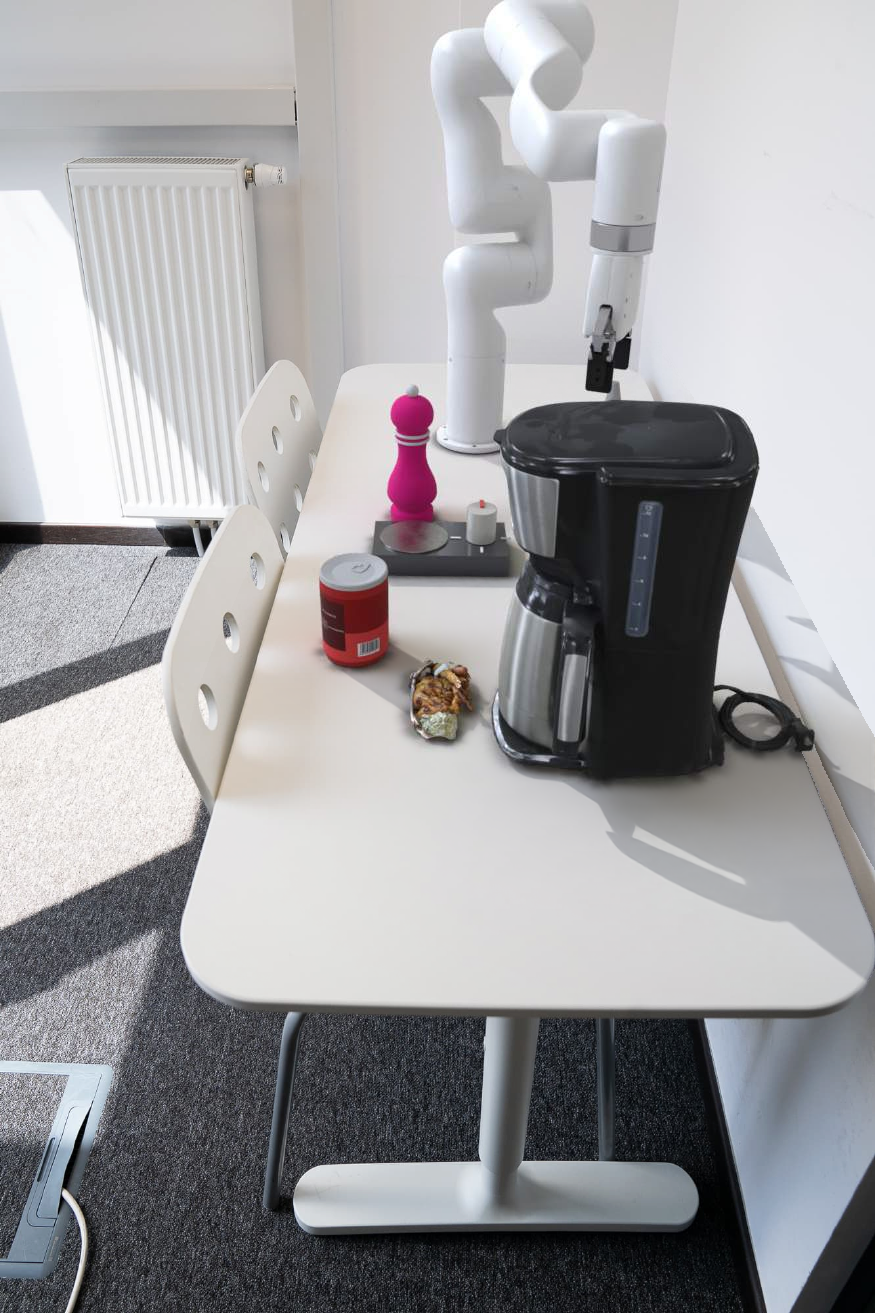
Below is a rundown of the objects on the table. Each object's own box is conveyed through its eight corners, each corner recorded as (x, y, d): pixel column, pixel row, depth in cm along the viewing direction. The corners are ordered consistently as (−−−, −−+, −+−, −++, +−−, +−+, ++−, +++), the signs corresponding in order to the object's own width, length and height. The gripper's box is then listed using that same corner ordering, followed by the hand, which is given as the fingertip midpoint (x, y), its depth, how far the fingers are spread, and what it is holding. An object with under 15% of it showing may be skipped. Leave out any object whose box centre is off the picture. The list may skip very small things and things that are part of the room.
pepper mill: (386, 507, 153) (384, 376, 142) (434, 506, 154) (436, 375, 142) (388, 529, 147) (386, 394, 136) (438, 528, 148) (441, 393, 137)
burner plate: (381, 522, 143) (381, 520, 142) (447, 522, 143) (447, 520, 142) (378, 553, 135) (378, 551, 135) (448, 554, 135) (448, 552, 135)
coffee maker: (461, 681, 116) (471, 392, 97) (719, 643, 124) (775, 368, 105) (527, 815, 98) (555, 492, 79) (825, 762, 105) (915, 454, 87)
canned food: (398, 638, 123) (398, 558, 117) (373, 674, 117) (371, 591, 111) (340, 626, 125) (336, 547, 119) (312, 661, 119) (307, 579, 113)
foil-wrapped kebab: (409, 742, 107) (409, 714, 105) (408, 675, 117) (408, 649, 115) (476, 741, 107) (477, 713, 105) (469, 675, 117) (470, 649, 115)
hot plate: (372, 575, 136) (371, 553, 134) (375, 539, 145) (375, 519, 143) (512, 576, 136) (513, 555, 135) (507, 541, 145) (508, 521, 143)
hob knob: (496, 545, 137) (498, 512, 135) (466, 545, 137) (467, 512, 134) (494, 531, 141) (496, 499, 138) (465, 531, 140) (466, 499, 138)
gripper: (607, 220, 129) (594, 356, 138) (572, 248, 115) (560, 397, 125) (667, 225, 127) (649, 363, 136) (638, 255, 113) (621, 405, 123)
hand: (607, 379), depth 130 cm, fingers open, 9 cm apart
